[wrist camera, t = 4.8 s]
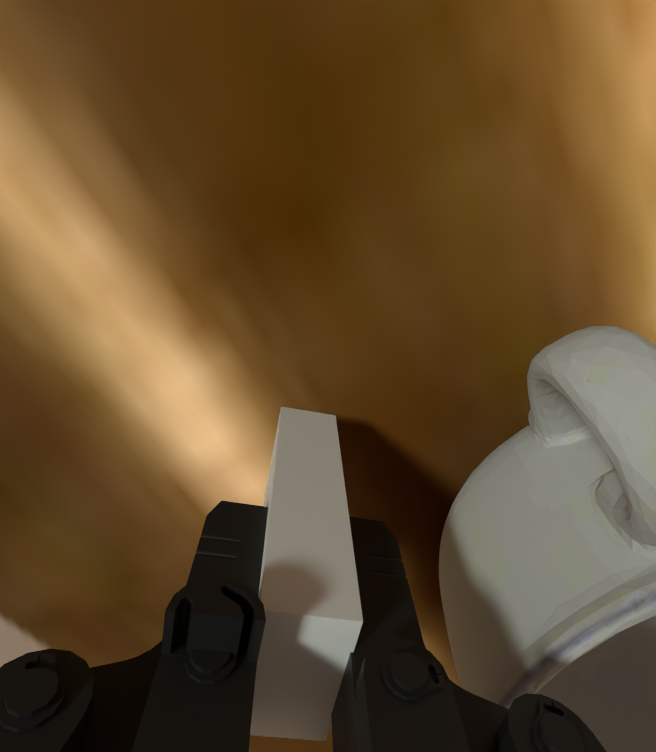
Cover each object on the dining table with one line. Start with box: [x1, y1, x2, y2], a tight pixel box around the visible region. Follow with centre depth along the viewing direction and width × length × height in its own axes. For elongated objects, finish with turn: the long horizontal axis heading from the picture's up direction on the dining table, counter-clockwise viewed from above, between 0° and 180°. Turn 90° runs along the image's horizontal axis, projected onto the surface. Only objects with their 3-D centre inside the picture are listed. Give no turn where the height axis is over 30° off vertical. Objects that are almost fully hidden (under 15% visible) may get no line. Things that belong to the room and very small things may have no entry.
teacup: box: [439, 326, 656, 752], centre depth 12 cm, size 14×11×8 cm
